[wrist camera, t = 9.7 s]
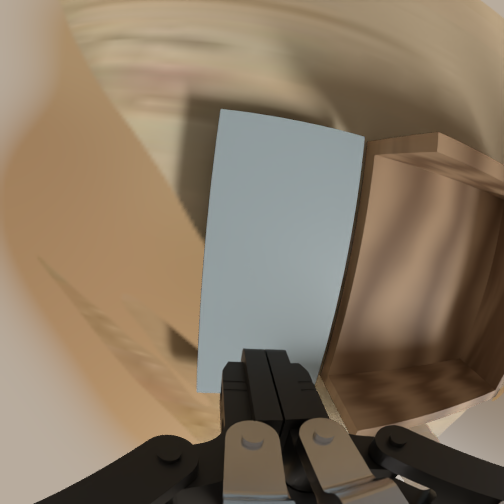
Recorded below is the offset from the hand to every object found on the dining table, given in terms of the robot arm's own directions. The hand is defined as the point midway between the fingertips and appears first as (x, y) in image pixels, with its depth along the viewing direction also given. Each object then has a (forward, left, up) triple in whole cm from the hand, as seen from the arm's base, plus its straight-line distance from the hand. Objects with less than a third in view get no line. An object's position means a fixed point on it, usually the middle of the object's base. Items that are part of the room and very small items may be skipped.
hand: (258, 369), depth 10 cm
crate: (-19, 0, -13) cm, 24 cm away
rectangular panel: (-8, 0, -12) cm, 14 cm away
